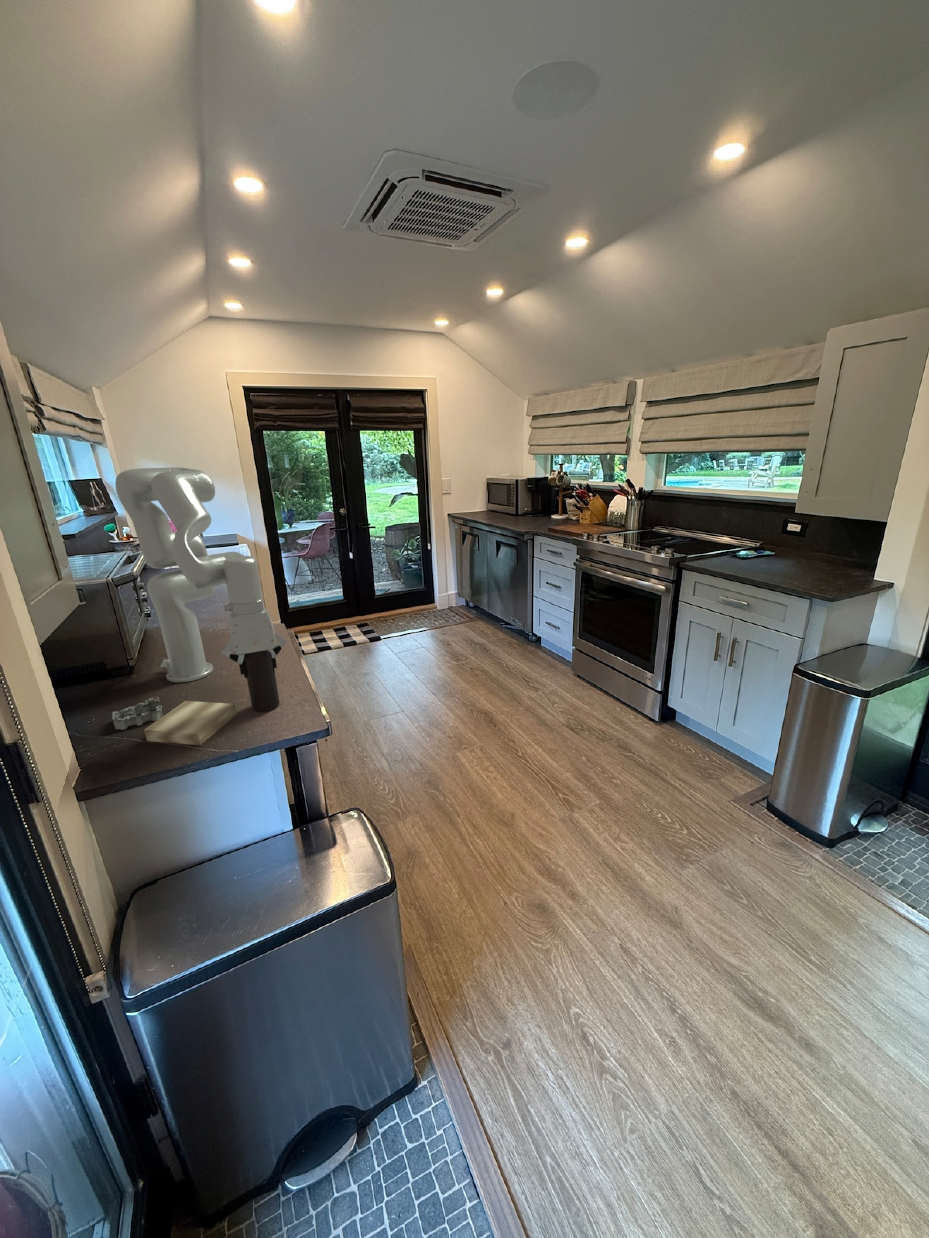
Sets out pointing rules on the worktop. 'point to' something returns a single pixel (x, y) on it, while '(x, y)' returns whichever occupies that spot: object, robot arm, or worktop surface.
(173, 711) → the maple base
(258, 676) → the vinegar
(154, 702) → the egg carton
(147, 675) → the worktop surface
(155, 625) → the worktop surface
